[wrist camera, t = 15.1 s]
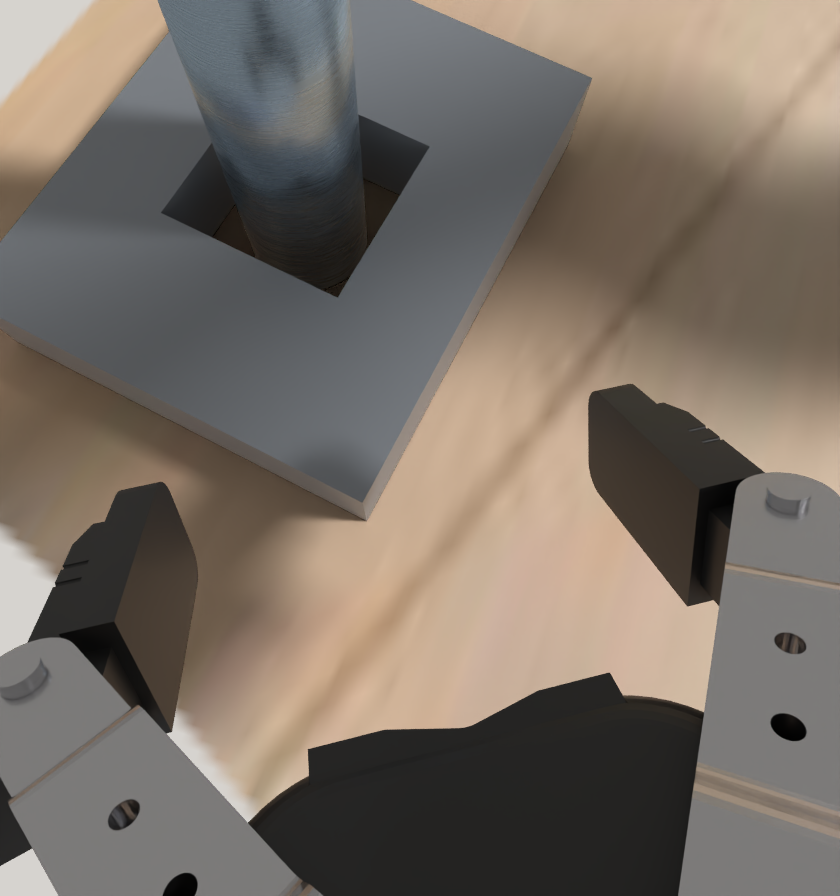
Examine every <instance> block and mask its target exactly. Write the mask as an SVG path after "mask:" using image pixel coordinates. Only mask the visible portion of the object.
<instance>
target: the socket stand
mask: <svg viewBox="0 0 840 896" xmlns="http://www.w3.org/2000/svg"><path fill="white" fill-rule="evenodd" d="M350 11H351V25H352V38H353V52H354V65H355V79H356V92H357V106H358V119H359V133H360V146H361V160H362V173H363V178H364V179H366V180H368V181H371V182H373V183H375V184H377V185H379V186H381V187H384V188H386V189H388V190H390V191H392V192H394V193H397V194H399V195H400V196H399V198H398V199H397V201H396V203H395V204H394V206H393V208H392V209H391V211H390V213H389V214H388V216H387V218H386V219H385V221H384V222H383V224H382V226H381V227H380V229H379V231H378V232H377V234H376V236H375V237H374V239H373V240H372V242H371V244H370V245H369V247H368V249H367V250H366V252H365V254H364V255H363V257H362V259H361V260H360V262H359V263H358V265H357V267H356V268H355V270H354V272H353V273H352V275H351V277H350V278H349V280H348V281H347V283H346V285H345V286H344V288H343V290H342V291H341V293H340V295H339V296H338V298H337V297H335V296H333V295H331V294H329V293H327V292H325V291H322V290H320V289H318V288H316V287H314V286H312V285H310V284H308V283H306V282H304V281H302V280H300V279H297V278H295V277H293V276H291V275H289V274H287V273H285V272H283V271H281V270H279V269H277V268H275V267H273V266H270V265H268V264H266V263H264V262H262V261H260V260H258V259H256V258H254V257H252V256H250V255H248V254H245V253H243V252H241V251H239V250H237V249H235V248H233V247H231V246H229V245H227V244H225V243H223V242H221V241H218V240H216V239H214V238H212V236H213V235H214V234H215V232H216V231H217V229H218V228H219V226H220V225H221V223H222V222H223V221H224V219H225V218H226V216H227V215H228V213H229V212H230V210H231V209H232V208H233V206H234V205H235V202H234V199H233V196H232V194H231V191H230V189H229V186H228V183H227V181H226V178H225V176H224V173H223V170H222V168H221V165H220V162H219V160H218V157H217V155H216V152H215V149H214V147H213V144H212V141H211V139H210V136H209V134H208V131H207V128H206V126H205V123H204V121H203V118H202V115H201V113H200V110H199V107H198V105H197V102H196V100H195V97H194V94H193V92H192V89H191V86H190V84H189V81H188V79H187V76H186V73H185V71H184V68H183V66H182V63H181V60H180V58H179V55H178V52H177V50H176V47H175V45H174V42H173V39H172V37H171V34H170V32H169V33H168V34H167V35H166V37H165V38H164V39H163V40H162V42H161V43H160V44H159V45H158V47H157V48H156V49H155V50H154V51H153V53H152V54H151V55H150V56H149V58H148V59H147V60H146V61H145V63H144V64H143V65H142V66H141V68H140V69H139V70H138V71H137V73H136V74H135V75H134V76H133V78H132V79H131V80H130V81H129V83H128V84H127V85H126V86H125V88H124V89H123V90H122V91H121V93H120V94H119V95H118V96H117V98H116V99H115V100H114V101H113V103H112V104H111V105H110V106H109V107H108V109H107V110H106V111H105V112H104V114H103V115H102V116H101V117H100V119H99V120H98V121H97V122H96V124H95V125H94V126H93V127H92V129H91V130H90V131H89V132H88V134H87V135H86V136H85V137H84V139H83V140H82V141H81V142H80V144H79V145H78V146H77V147H76V149H75V150H74V151H73V152H72V154H71V155H70V156H69V157H68V158H67V160H66V161H65V162H64V163H63V165H62V166H61V167H60V168H59V170H58V171H57V172H56V173H55V175H54V176H53V177H52V178H51V180H50V181H49V182H48V183H47V185H46V186H45V187H44V188H43V190H42V191H41V192H40V193H39V195H38V196H37V197H36V198H35V200H34V201H33V202H32V203H31V205H30V206H29V207H28V208H27V210H26V211H25V212H24V213H23V214H22V216H21V217H20V218H19V219H18V221H17V222H16V223H15V224H14V226H13V227H12V228H11V229H10V231H9V232H8V233H7V234H6V236H5V237H4V238H3V239H2V241H1V242H0V329H1V330H2V331H4V332H5V333H6V334H8V335H9V336H10V337H12V338H13V339H14V340H16V341H17V342H19V343H21V344H23V345H25V346H27V347H29V348H31V349H32V350H34V351H36V352H38V353H40V354H42V355H44V356H46V357H48V358H50V359H52V360H54V361H56V362H58V363H60V364H62V365H64V366H66V367H68V368H70V369H71V370H73V371H75V372H77V373H79V374H81V375H83V376H85V377H87V378H89V379H91V380H93V381H95V382H97V383H99V384H101V385H103V386H105V387H107V388H108V389H110V390H112V391H114V392H116V393H118V394H120V395H122V396H124V397H126V398H128V399H130V400H132V401H134V402H136V403H138V404H140V405H142V406H144V407H146V408H147V409H149V410H151V411H153V412H155V413H157V414H159V415H161V416H163V417H165V418H167V419H169V420H171V421H173V422H175V423H177V424H179V425H181V426H183V427H184V428H186V429H188V430H190V431H192V432H194V433H196V434H198V435H200V436H202V437H204V438H206V439H208V440H210V441H212V442H214V443H216V444H218V445H220V446H221V447H223V448H225V449H227V450H229V451H231V452H233V453H235V454H237V455H239V456H241V457H243V458H245V459H247V460H249V461H251V462H253V463H255V464H257V465H259V466H260V467H262V468H264V469H266V470H268V471H270V472H272V473H274V474H276V475H278V476H280V477H282V478H284V479H286V480H288V481H290V482H292V483H294V484H296V485H297V486H299V487H301V488H303V489H305V490H307V491H309V492H311V493H313V494H315V495H317V496H319V497H321V498H323V499H325V500H327V501H329V502H331V503H333V504H335V505H336V506H338V507H340V508H342V509H344V510H346V511H348V512H350V513H352V514H354V515H356V516H358V517H360V518H362V519H364V520H366V521H367V520H368V518H369V516H370V514H371V513H372V511H373V509H374V507H375V505H376V503H377V501H378V500H379V498H380V496H381V494H382V492H383V490H384V488H385V486H386V485H387V483H388V481H389V479H390V477H391V475H392V473H393V471H394V470H395V468H396V466H397V464H398V462H399V460H400V458H401V456H402V455H403V453H404V451H405V449H406V447H407V445H408V443H409V442H410V440H411V438H412V436H413V434H414V432H415V430H416V428H417V427H418V425H419V423H420V421H421V419H422V417H423V415H424V413H425V412H426V410H427V408H428V406H429V404H430V402H431V400H432V398H433V397H434V395H435V393H436V391H437V389H438V387H439V385H440V383H441V382H442V380H443V378H444V376H445V374H446V372H447V370H448V369H449V367H450V365H451V363H452V361H453V359H454V357H455V355H456V354H457V352H458V350H459V348H460V346H461V344H462V342H463V340H464V339H465V337H466V335H467V333H468V331H469V329H470V327H471V325H472V324H473V322H474V320H475V318H476V316H477V314H478V312H479V310H480V309H481V307H482V305H483V303H484V301H485V299H486V297H487V296H488V294H489V292H490V290H491V288H492V286H493V284H494V282H495V281H496V279H497V277H498V275H499V273H500V271H501V269H502V267H503V266H504V264H505V262H506V260H507V258H508V256H509V254H510V252H511V251H512V249H513V247H514V245H515V243H516V241H517V239H518V237H519V236H520V234H521V232H522V230H523V228H524V226H525V224H526V223H527V221H528V219H529V217H530V215H531V213H532V211H533V209H534V208H535V206H536V204H537V202H538V200H539V198H540V196H541V194H542V193H543V191H544V189H545V187H546V185H547V183H548V181H549V179H550V178H551V176H552V174H553V172H554V170H555V168H556V166H557V165H558V163H559V161H560V159H561V157H562V155H563V153H564V151H565V150H566V148H567V146H568V144H569V141H570V138H571V136H572V133H573V130H574V127H575V124H576V122H577V119H578V116H579V113H580V111H581V108H582V105H583V102H584V100H585V97H586V94H587V91H588V88H589V86H590V83H591V80H592V78H591V77H588V76H586V75H584V74H581V73H579V72H577V71H574V70H572V69H570V68H567V67H565V66H563V65H560V64H558V63H556V62H553V61H551V60H549V59H546V58H544V57H542V56H539V55H537V54H535V53H532V52H530V51H528V50H526V49H523V48H521V47H519V46H516V45H514V44H512V43H509V42H507V41H505V40H502V39H500V38H498V37H495V36H493V35H491V34H488V33H486V32H484V31H481V30H479V29H477V28H474V27H472V26H470V25H467V24H465V23H463V22H460V21H458V20H456V19H453V18H451V17H449V16H446V15H444V14H442V13H439V12H437V11H435V10H432V9H430V8H428V7H425V6H423V5H421V4H418V3H416V2H414V1H411V0H350Z"/></svg>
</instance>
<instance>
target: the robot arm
mask: <svg viewBox="0 0 840 896" xmlns="http://www.w3.org/2000/svg"><path fill="white" fill-rule="evenodd" d="M588 432H589V469H590V474H591V478H592V481H593V484H594V486H595V488H596V490H597V492H598V493H599V495H600V496H601V497H602V498H603V500H604V501H605V502H606V504H607V505H608V506H609V507H610V509H611V510H612V511H613V512H614V514H615V515H616V516H617V518H618V519H619V520H620V521H621V523H622V524H623V525H624V526H625V528H626V529H627V530H628V532H629V533H630V534H631V535H632V537H633V538H634V539H635V540H636V542H637V543H638V544H639V546H640V547H641V548H642V549H643V551H644V552H645V553H646V554H647V556H648V557H649V558H650V560H651V561H652V562H653V563H654V565H655V566H656V567H657V568H658V570H659V571H660V572H661V574H662V575H663V576H664V577H665V579H666V580H667V581H668V582H669V584H670V585H671V586H672V588H673V589H674V590H675V591H676V593H677V594H678V595H679V596H680V598H681V599H682V600H683V602H684V603H685V604H686V605H687V606H691V605H695V604H699V603H703V602H707V601H711V600H714V601H715V602H716V603H717V604H718V606H719V612H718V619H717V626H716V633H715V640H714V647H713V654H712V661H711V668H710V676H709V683H708V690H707V697H706V704H705V711H704V712H702V711H699V710H697V709H694V708H692V707H689V706H686V705H682V704H679V703H675V702H672V701H668V700H663V699H657V698H652V697H643V696H623V695H622V693H621V692H620V690H619V688H618V686H617V685H616V683H615V681H614V679H613V677H612V676H611V674H610V673H606V674H602V675H598V676H594V677H590V678H586V679H582V680H578V681H574V682H571V683H567V684H563V685H559V686H555V687H551V688H547V689H543V690H539V691H537V692H535V693H533V694H531V695H529V696H527V697H525V698H523V699H522V700H520V701H518V702H516V703H514V704H512V705H510V706H508V707H507V708H505V709H503V710H501V711H499V712H497V713H495V714H493V715H491V716H490V717H488V718H486V719H484V720H482V721H480V722H478V723H476V724H474V725H472V726H469V727H466V728H451V729H401V730H382V731H378V732H374V733H370V734H366V735H362V736H358V737H355V738H351V739H347V740H343V741H339V742H335V743H331V744H327V745H323V746H319V747H315V748H311V749H308V761H309V776H308V777H306V778H304V779H302V780H301V781H299V782H297V783H295V784H294V785H292V786H291V787H289V788H288V789H286V790H285V791H283V792H282V793H280V794H279V795H278V796H277V797H275V798H274V799H273V800H272V801H271V802H269V803H268V804H267V805H266V806H265V807H263V808H262V809H261V810H260V811H259V812H258V813H257V814H256V815H255V816H254V817H253V818H252V819H251V820H250V821H249V822H248V823H247V822H246V820H245V819H244V818H243V817H242V816H241V815H240V814H239V813H238V812H237V811H236V810H235V808H234V807H233V806H232V805H231V804H230V803H229V802H228V801H227V800H226V799H225V798H224V796H223V795H222V794H221V793H220V792H219V791H218V790H217V789H216V788H215V787H214V786H213V785H212V783H211V782H210V781H209V780H208V779H207V778H206V777H205V776H204V775H203V774H202V773H201V772H200V770H199V769H198V768H197V767H196V766H195V765H194V764H193V763H192V762H191V761H190V759H189V758H188V757H187V756H186V755H185V754H184V753H183V752H182V751H181V749H180V748H179V747H178V746H177V745H176V744H175V743H174V742H173V741H172V740H171V739H170V737H169V736H168V735H167V734H166V733H169V732H172V728H173V722H174V717H175V711H176V705H177V699H178V693H179V688H180V682H181V676H182V670H183V664H184V658H185V653H186V647H187V641H188V635H189V629H190V624H191V618H192V612H193V606H194V600H195V595H196V589H197V582H198V570H197V563H196V558H195V554H194V551H193V548H192V545H191V543H190V540H189V538H188V535H187V533H186V530H185V528H184V525H183V523H182V520H181V518H180V516H179V513H178V511H177V508H176V506H175V503H174V501H173V498H172V496H171V493H170V491H169V489H168V487H167V486H166V485H165V484H164V483H163V482H158V483H153V484H149V485H144V486H139V487H134V488H130V489H125V490H120V491H118V492H117V494H116V496H115V498H114V501H113V503H112V505H111V508H110V510H109V513H108V515H107V518H106V520H105V522H101V523H96V524H93V525H92V526H91V527H90V528H89V529H88V530H87V531H86V532H85V533H84V534H83V535H82V536H81V537H80V538H79V539H78V540H77V541H76V542H75V543H74V544H73V545H72V547H71V549H70V552H69V554H68V556H67V558H66V560H65V562H64V565H63V567H64V569H63V570H61V571H60V573H59V575H58V578H57V580H56V582H55V585H56V587H53V588H52V591H51V593H50V595H49V597H48V599H47V601H46V604H45V606H44V608H43V610H42V612H41V614H40V617H39V619H38V621H37V623H36V625H35V627H34V630H33V632H32V634H31V636H30V638H29V641H28V643H26V644H23V645H21V646H19V647H17V648H14V649H13V650H11V651H9V652H7V653H6V654H4V655H2V656H1V657H0V866H1V865H3V864H4V863H6V862H8V861H10V860H12V859H14V858H15V857H17V856H19V855H21V854H23V853H25V852H26V851H28V850H30V849H32V848H33V850H34V852H35V854H36V856H37V857H38V859H39V861H40V863H41V865H42V866H43V868H44V870H45V872H46V874H47V875H48V877H49V879H50V881H51V883H52V884H53V886H54V888H55V890H56V892H57V893H58V895H59V896H840V497H839V495H838V494H837V493H836V492H835V491H834V490H832V489H831V488H830V487H828V486H826V485H825V484H823V483H821V482H819V481H817V480H814V479H811V478H808V477H805V476H801V475H797V474H791V473H780V472H771V473H765V472H763V471H762V470H761V469H760V468H758V467H757V466H756V465H754V464H753V463H752V462H751V461H749V460H748V459H747V458H746V457H744V456H743V455H742V454H741V453H739V452H738V451H737V450H736V449H734V448H733V447H732V446H730V445H729V444H728V443H727V442H725V441H724V440H720V438H719V436H718V435H717V434H715V433H714V432H713V431H712V430H710V429H709V428H708V429H706V427H705V425H704V424H703V423H701V422H700V421H699V420H698V419H696V418H695V417H694V416H693V415H691V414H690V413H689V412H687V411H684V410H681V409H679V408H676V407H674V406H671V405H668V404H666V403H659V404H656V403H655V402H654V401H653V400H652V399H650V398H649V397H648V396H647V395H646V394H644V393H643V392H642V391H641V390H640V389H638V388H637V387H636V386H635V385H633V384H627V385H622V386H617V387H613V388H608V389H603V390H598V391H594V392H592V393H591V395H590V398H589V405H588Z"/></svg>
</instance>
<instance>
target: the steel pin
mask: <svg viewBox="0 0 840 896" xmlns="http://www.w3.org/2000/svg"><path fill="white" fill-rule="evenodd" d="M158 3H159V5H160V8H161V11H162V13H163V16H164V18H165V21H166V24H167V26H168V29H169V32H170V34H171V37H172V39H173V42H174V45H175V47H176V50H177V52H178V55H179V58H180V60H181V63H182V66H183V68H184V71H185V73H186V76H187V79H188V81H189V84H190V86H191V89H192V92H193V94H194V97H195V100H196V102H197V105H198V107H199V110H200V113H201V115H202V118H203V121H204V123H205V126H206V128H207V131H208V134H209V136H210V139H211V141H212V144H213V147H214V149H215V152H216V155H217V157H218V160H219V162H220V165H221V168H222V170H223V173H224V176H225V178H226V181H227V183H228V186H229V189H230V191H231V194H232V196H233V199H234V202H235V204H236V207H237V210H238V212H239V215H240V217H241V220H242V223H243V225H244V228H245V230H246V233H247V236H248V238H249V241H250V244H251V246H252V249H253V251H254V254H255V257H256V259H258V260H260V261H262V262H264V263H266V264H268V265H270V266H273V267H275V268H277V269H279V270H281V271H283V272H285V273H287V274H289V275H291V276H293V277H295V278H297V279H300V280H302V281H304V282H306V283H308V284H310V285H312V286H314V287H316V288H318V289H324V288H328V287H331V286H334V285H336V284H338V283H340V282H342V281H343V280H345V279H346V278H347V277H349V276H350V275H351V274H352V273H353V272H354V270H355V268H356V267H357V265H358V263H359V262H360V260H361V259H362V257H363V255H364V254H365V252H366V247H367V227H366V214H365V200H364V187H363V173H362V160H361V146H360V133H359V119H358V106H357V92H356V79H355V65H354V52H353V38H352V25H351V11H350V0H158Z"/></svg>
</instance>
